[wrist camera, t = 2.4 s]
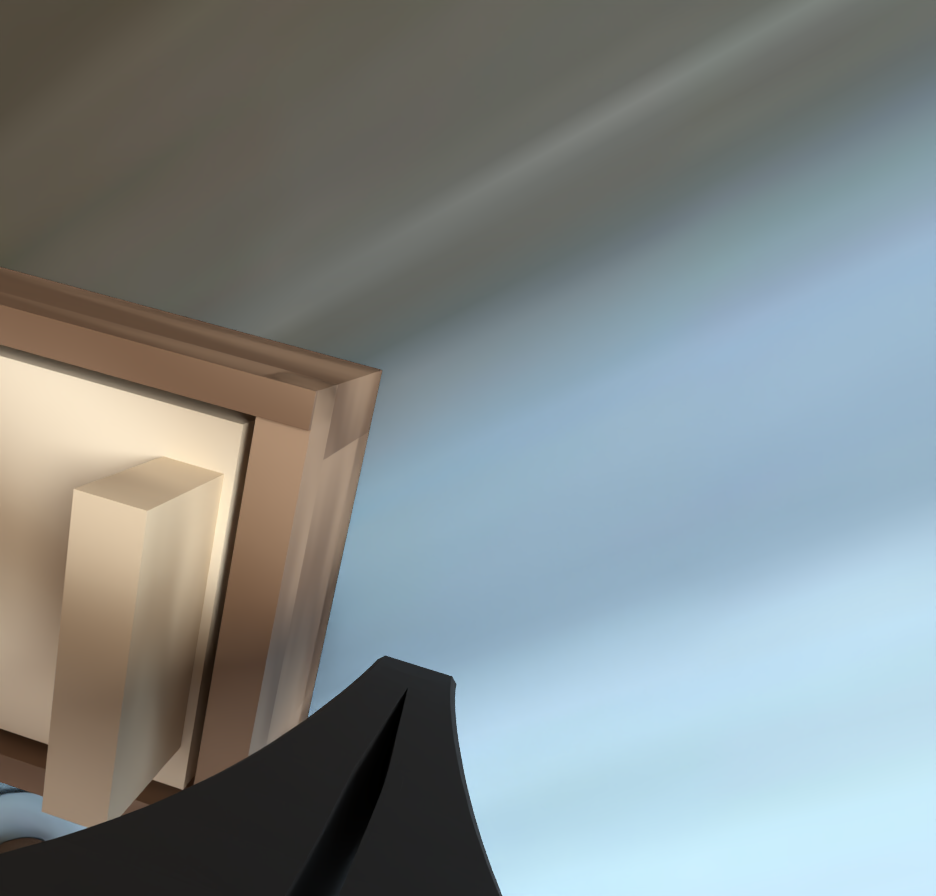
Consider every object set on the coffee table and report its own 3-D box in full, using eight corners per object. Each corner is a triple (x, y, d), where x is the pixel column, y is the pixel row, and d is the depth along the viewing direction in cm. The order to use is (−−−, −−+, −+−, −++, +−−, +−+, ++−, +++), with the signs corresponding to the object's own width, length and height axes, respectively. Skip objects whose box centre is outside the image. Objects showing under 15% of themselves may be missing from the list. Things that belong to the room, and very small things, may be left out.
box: (304, 730, 17) (226, 860, 13) (-61, 613, 18) (-239, 700, 14) (382, 370, 14) (315, 391, 10) (-43, 255, 15) (-254, 234, 11)
